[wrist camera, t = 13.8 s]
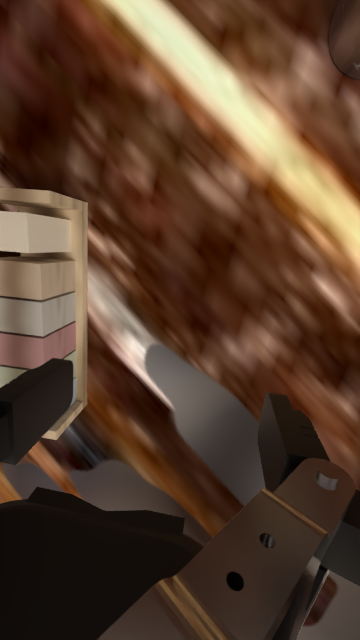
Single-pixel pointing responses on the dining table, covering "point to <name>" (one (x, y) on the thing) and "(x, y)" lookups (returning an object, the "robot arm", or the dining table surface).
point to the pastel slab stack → (46, 300)
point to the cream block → (34, 233)
